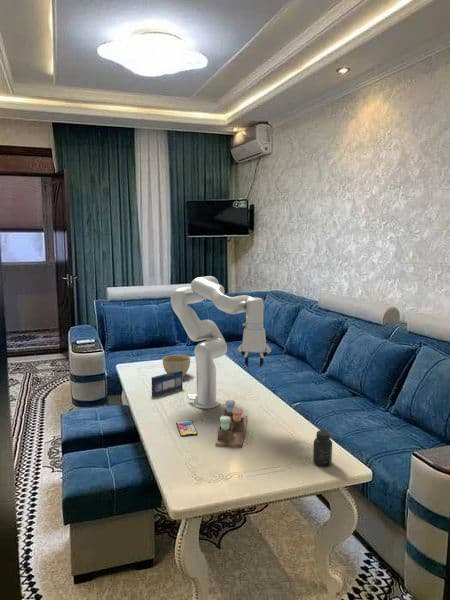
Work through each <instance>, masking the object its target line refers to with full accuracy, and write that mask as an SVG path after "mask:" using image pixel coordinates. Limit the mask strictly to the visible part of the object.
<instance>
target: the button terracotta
mask: <svg viewBox="0 0 450 600" xmlns="http://www.w3.org/2000/svg"><path fill="white" fill-rule="evenodd" d="M232 413H233V422H241V416H242V414H243V409H242V408H239V407H236V408H235V407H234V409H233V410H232Z"/></svg>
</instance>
